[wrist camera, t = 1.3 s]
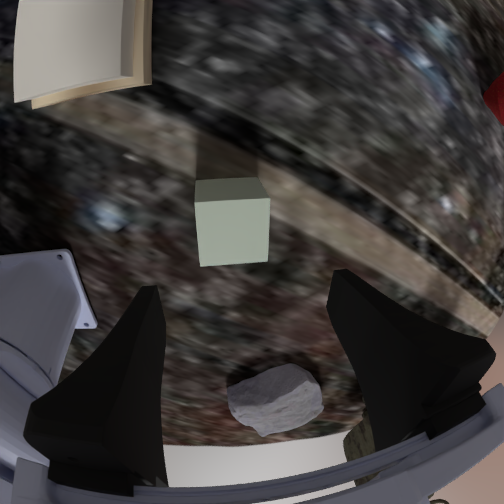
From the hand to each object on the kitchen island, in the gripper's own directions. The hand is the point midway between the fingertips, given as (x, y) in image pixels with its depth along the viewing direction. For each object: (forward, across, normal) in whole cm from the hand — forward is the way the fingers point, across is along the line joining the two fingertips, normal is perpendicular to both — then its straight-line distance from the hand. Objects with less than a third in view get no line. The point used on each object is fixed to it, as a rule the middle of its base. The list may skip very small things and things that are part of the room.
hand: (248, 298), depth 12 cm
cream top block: (+7, +8, -12) cm, 16 cm away
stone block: (+10, -5, +24) cm, 27 cm away
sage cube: (+10, 0, 0) cm, 10 cm away
